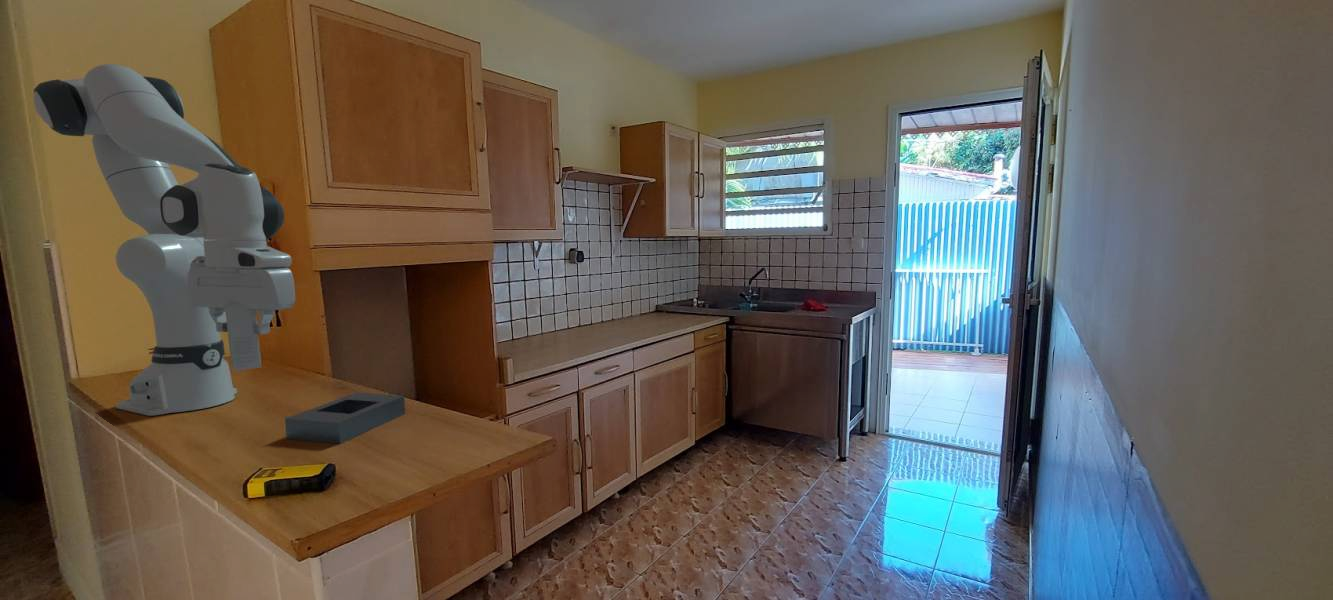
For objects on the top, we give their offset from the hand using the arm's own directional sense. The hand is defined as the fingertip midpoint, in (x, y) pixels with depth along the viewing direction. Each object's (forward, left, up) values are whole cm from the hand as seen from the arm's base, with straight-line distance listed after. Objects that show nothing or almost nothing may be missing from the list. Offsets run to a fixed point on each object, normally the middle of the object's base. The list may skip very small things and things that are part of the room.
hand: (243, 332), depth 98 cm
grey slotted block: (+10, +13, -21) cm, 26 cm away
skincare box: (0, 0, -6) cm, 6 cm away
